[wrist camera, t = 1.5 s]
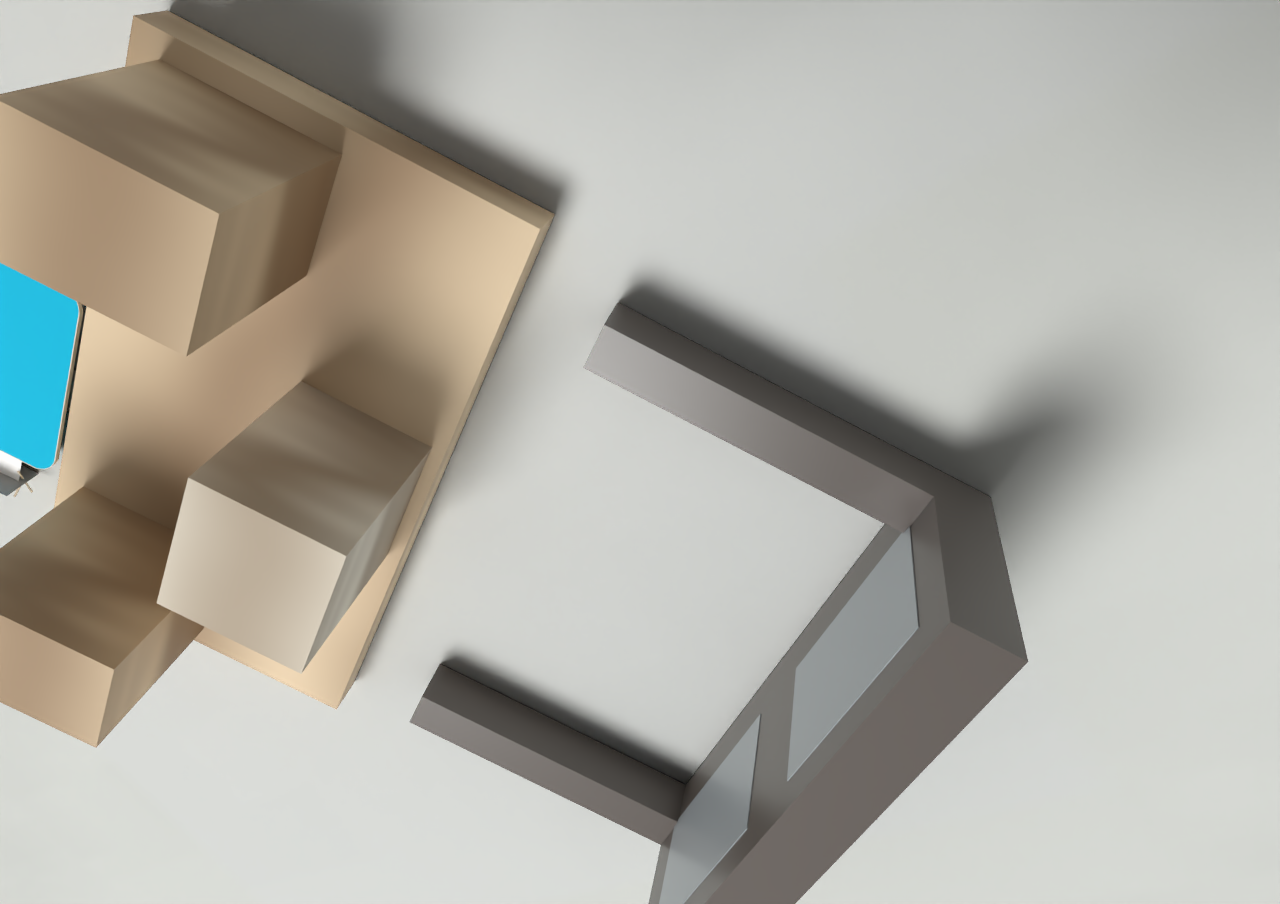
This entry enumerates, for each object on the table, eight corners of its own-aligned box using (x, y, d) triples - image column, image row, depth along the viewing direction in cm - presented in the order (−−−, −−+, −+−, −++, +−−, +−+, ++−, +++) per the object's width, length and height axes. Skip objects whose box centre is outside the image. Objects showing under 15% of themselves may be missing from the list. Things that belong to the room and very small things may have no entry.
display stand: (554, 214, 19) (464, 307, 14) (353, 682, 26) (253, 837, 21) (168, 10, 18) (-46, 43, 14) (72, 544, 25) (-89, 675, 21)
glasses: (991, 497, 20) (1029, 661, 15) (716, 830, 26) (688, 1015, 22) (617, 302, 19) (549, 416, 15) (427, 689, 25) (340, 848, 21)
